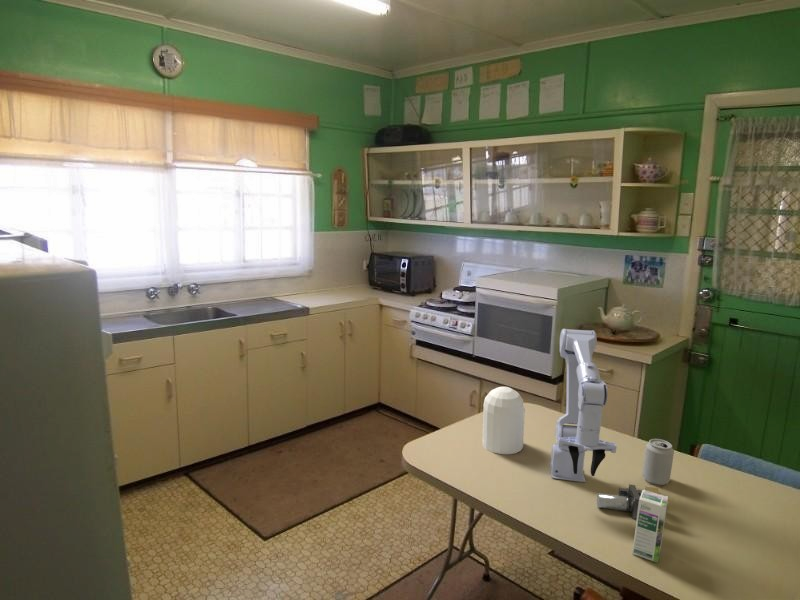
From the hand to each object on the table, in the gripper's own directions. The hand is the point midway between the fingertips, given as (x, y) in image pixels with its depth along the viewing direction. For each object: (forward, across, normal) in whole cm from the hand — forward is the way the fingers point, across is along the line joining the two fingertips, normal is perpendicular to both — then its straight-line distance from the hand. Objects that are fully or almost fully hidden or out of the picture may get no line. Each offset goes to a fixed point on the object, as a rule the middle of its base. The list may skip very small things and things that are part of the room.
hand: (583, 473), depth 146 cm
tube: (+9, +10, 0) cm, 14 cm away
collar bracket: (+9, +16, +1) cm, 19 cm away
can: (+10, +24, +19) cm, 32 cm away
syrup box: (+10, +13, -17) cm, 23 cm away
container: (+9, -21, +30) cm, 38 cm away
